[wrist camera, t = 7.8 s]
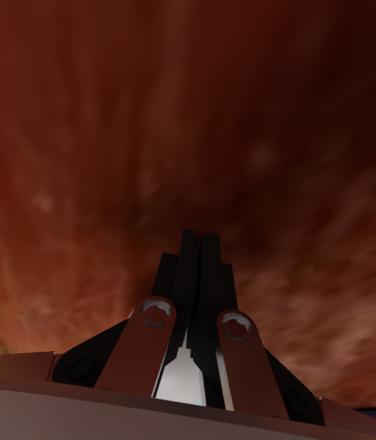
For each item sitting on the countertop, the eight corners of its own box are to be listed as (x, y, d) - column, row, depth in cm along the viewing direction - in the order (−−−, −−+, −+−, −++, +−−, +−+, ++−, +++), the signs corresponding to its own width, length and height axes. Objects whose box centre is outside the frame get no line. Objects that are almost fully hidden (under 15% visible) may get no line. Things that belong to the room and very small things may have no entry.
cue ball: (159, 468, 11) (171, 372, 16) (255, 397, 10) (233, 322, 16) (71, 383, 10) (114, 314, 16) (166, 303, 10) (176, 261, 15)
